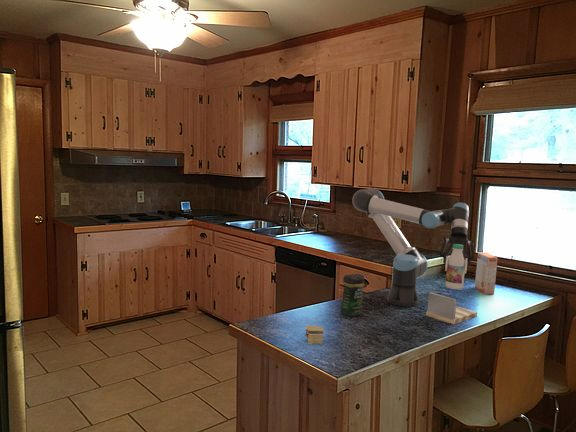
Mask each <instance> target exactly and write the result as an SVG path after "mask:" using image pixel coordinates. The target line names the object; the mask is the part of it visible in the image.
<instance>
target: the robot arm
mask: <svg viewBox="0 0 576 432" xmlns="http://www.w3.org/2000/svg"><path fill="white" fill-rule="evenodd" d="M352 205H353V207H354V208H355V210H357V211H360V212H363V213H366V215H367V217H368V218H371V219H373V221H374V222H375V224H376V225H377V227H378V228H379V230H380V231H381V233H382V235H383V236H384V238H385V239H386V241H387V242H388V244H389V245H390V247H391V248H392V250H393V251H394V253H395V254H396V256H395V257H394V258H393V262H392V277H391V279H392V280H391V287H390V290H389V292H388V294H387V297H386V300H387V302H388V303H389V304H390V305H391V304H392V305H395V306H398V307H405V308H407V307H408V308H409V307H416V306H418V304H419V297H418V296H419V295H418V293H417V288H416V287H417V286H416V285H417V279H418V278H419V277H421V276H423V275H424V274H425V272H426V271H427V270H428V266H429V265H428V264H429V263H428V260H427V258H426V257H425V255H424V254H421V253H420V252H419V251H418V249H417V248H416V247H415V246H411V245H410V243H409V241H408V240H407V238H406V237H405V236H404V234H403V232H402V230H400V228H399V227H398V225H397V224H396V222H395V220H394V219H393V218H395V219H399V220H403V221H407V222H410V223H415V224H419V225H421V226H424V227H425V228H427V229H435V228H436V227H439V226H444V225H450V226H451V228H450V234H449V235H450V236H449V238H447V237H443V238H442V246H441V248H440V252H439V257H440V258H443V260H442V261H443V262H442V264H444V266H445V269H444V271H445V272H447V264H448V260H449V256H450V255H451V253H452V252H453V249H452V248H453V244H461V245H463V251H462V253H463V256H464V257H465V259H464V260H465V272H464V275H465V274H467V272H468V271H467V270H468V268H469V267H470V266H471V261H472V262H473V261H475V250H474V249H475V248H474V240H473V239H472V240H469V239H468V228H469V214H470V210H469V205H468V204H467V203H464V202H456V203H455V204H454V205H453V206H452V208H448V209H446V208H445V209H439V210H438V209H437V210H432V211H431V210H427V209H424V208H419V207H416V206H411V205H407V204H404V203H399V202H396V201H391V200H388V199H385V197H384V195H383V193H382V192H381V191H380V190H378V189H375V188H367V189H358V190H357V191H356V192H355V193H354V194H353V196H352ZM448 243H450V245H449V247H447V244H448ZM467 244H468V246H469V251H468V249H467V246H466V245H467ZM446 247H447V250H446ZM469 253H470V254H469Z"/></svg>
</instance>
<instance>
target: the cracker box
mask: <svg viewBox="0 0 576 432" xmlns="http://www.w3.org/2000/svg"><path fill="white" fill-rule="evenodd" d="M498 259H499V258H498V257H497V256H495V255H493V254H490V253H487V252H477V259H476V260H477V261H476V270H475V281H474V282H475V283H474V288H475V289H476V290H478V291H479V292H481V293H482V294H484V295H495V288H496V277H497V268H498Z"/></svg>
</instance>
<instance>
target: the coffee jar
mask: <svg viewBox="0 0 576 432" xmlns="http://www.w3.org/2000/svg"><path fill="white" fill-rule="evenodd" d="M342 286H343V292H342V293H343V294H342V300H341V306H340V313H341V314H342V315H343V316H345V317H356V316H357V317H358V316H360V315H362V314H363V291H364V289H363V288H364V286H365V276H364V275H362V274H360V273H352V274H346V275H345V274H344V276H343V279H342Z"/></svg>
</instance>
